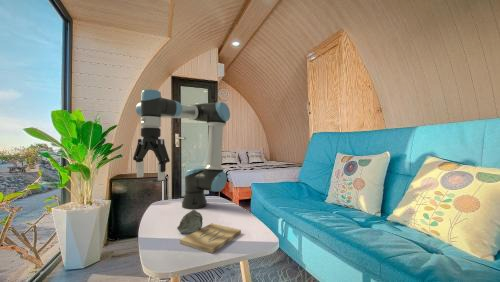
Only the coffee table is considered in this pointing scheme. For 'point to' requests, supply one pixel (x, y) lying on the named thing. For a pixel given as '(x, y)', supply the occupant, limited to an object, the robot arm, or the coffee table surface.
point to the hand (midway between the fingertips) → (150, 178)
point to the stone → (190, 222)
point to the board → (210, 237)
